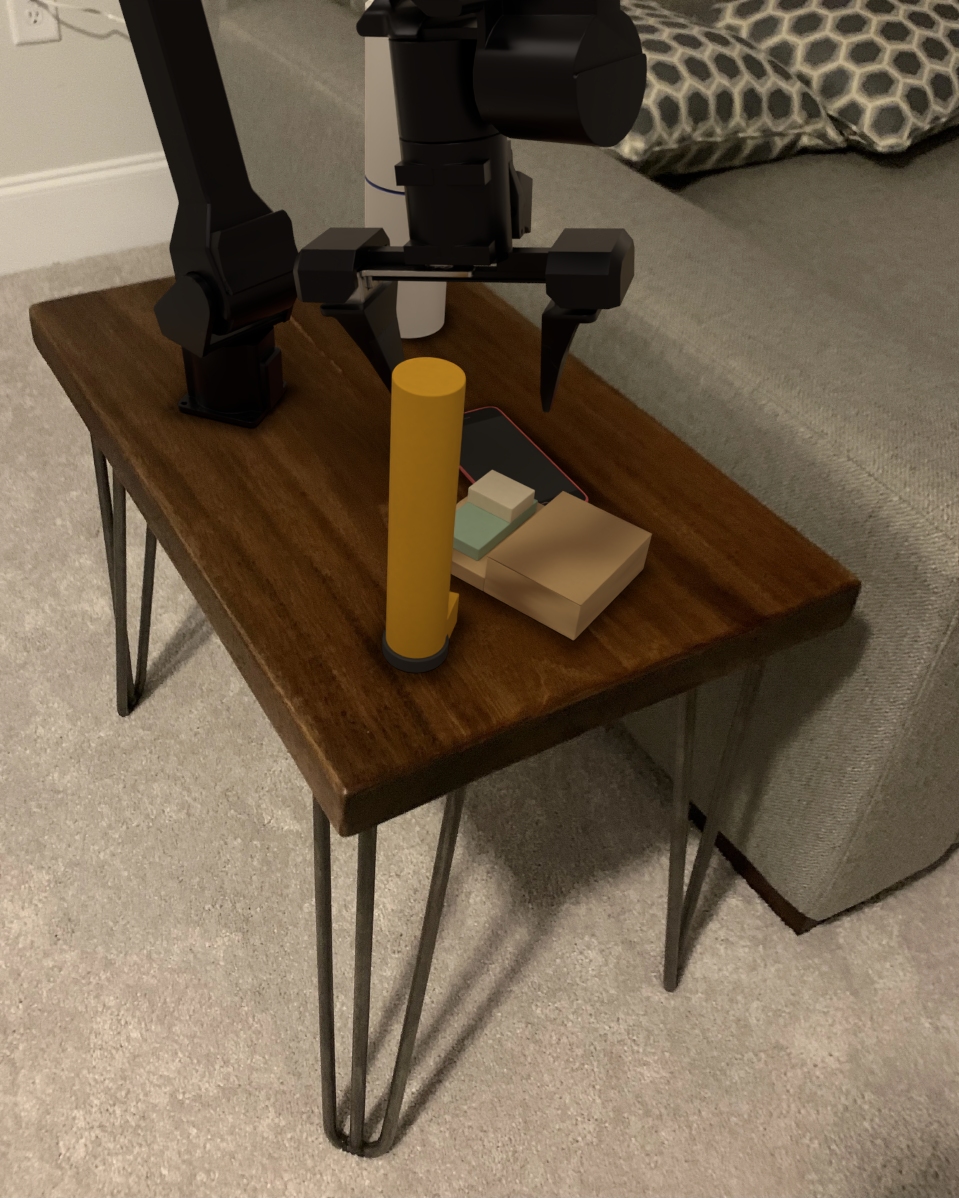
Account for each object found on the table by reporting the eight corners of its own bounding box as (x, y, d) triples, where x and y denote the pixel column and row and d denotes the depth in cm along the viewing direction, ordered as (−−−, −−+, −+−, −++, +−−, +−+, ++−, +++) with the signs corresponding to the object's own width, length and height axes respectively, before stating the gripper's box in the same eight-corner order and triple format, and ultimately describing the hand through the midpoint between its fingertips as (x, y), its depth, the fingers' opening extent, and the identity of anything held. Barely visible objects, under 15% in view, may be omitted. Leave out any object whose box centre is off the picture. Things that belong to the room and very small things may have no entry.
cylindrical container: (356, 302, 95) (355, -6, 78) (432, 296, 97) (447, -6, 80) (374, 341, 90) (377, 21, 73) (453, 334, 92) (474, 21, 75)
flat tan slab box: (410, 552, 70) (412, 516, 68) (488, 491, 75) (491, 456, 73) (573, 641, 65) (581, 605, 63) (643, 569, 70) (652, 533, 68)
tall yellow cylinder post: (436, 680, 61) (456, 405, 48) (372, 663, 62) (376, 387, 49) (461, 622, 65) (486, 353, 52) (401, 607, 66) (411, 336, 53)
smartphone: (512, 526, 72) (418, 423, 81) (511, 533, 73) (418, 429, 81) (594, 500, 75) (495, 403, 84) (593, 506, 76) (494, 409, 84)
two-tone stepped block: (477, 561, 68) (480, 535, 66) (434, 538, 69) (435, 512, 68) (536, 511, 72) (540, 486, 71) (494, 490, 73) (497, 465, 72)
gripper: (650, 98, 59) (645, 361, 67) (344, 107, 63) (376, 351, 72) (619, 141, 50) (617, 436, 59) (266, 148, 55) (314, 420, 63)
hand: (474, 406), depth 64 cm, fingers open, 9 cm apart
